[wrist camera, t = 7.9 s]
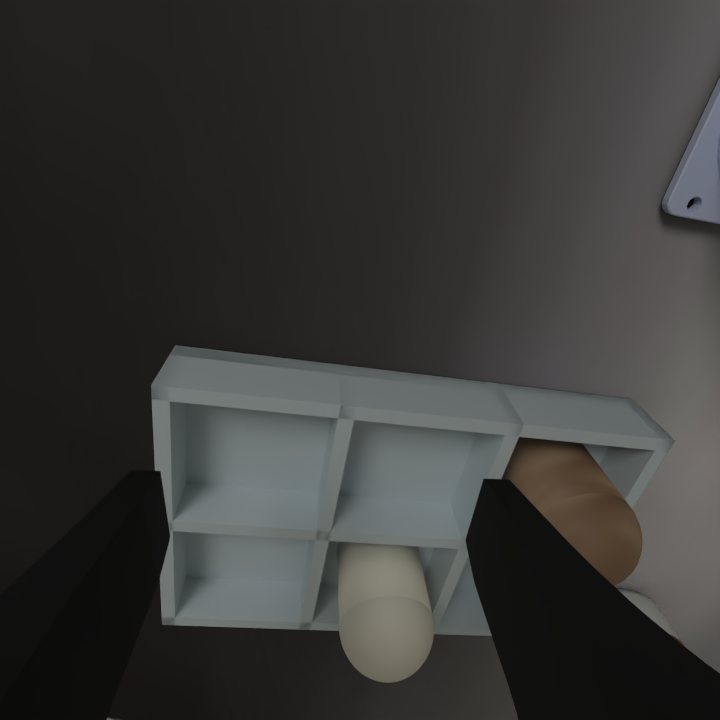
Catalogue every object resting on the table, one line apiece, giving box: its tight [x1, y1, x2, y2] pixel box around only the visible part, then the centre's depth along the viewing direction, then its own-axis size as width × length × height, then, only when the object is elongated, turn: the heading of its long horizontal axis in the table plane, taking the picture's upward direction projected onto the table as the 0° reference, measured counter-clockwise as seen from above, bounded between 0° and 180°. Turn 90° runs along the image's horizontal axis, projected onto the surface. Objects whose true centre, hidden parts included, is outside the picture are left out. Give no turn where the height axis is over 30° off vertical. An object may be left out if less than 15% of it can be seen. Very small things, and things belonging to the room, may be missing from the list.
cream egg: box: [337, 542, 434, 682], centre depth 21 cm, size 4×4×6 cm
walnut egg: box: [501, 437, 642, 586], centre depth 19 cm, size 4×4×6 cm
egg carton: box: [151, 345, 675, 636], centre depth 22 cm, size 20×14×3 cm
